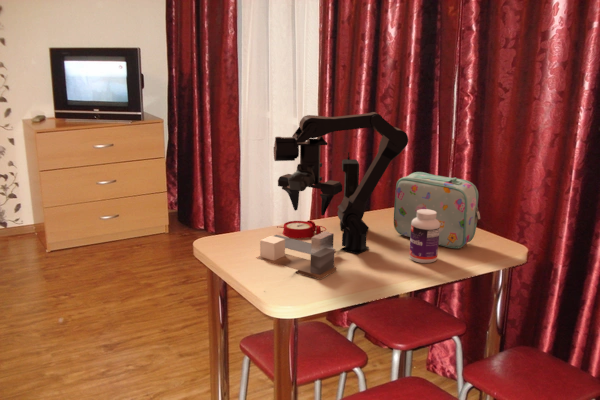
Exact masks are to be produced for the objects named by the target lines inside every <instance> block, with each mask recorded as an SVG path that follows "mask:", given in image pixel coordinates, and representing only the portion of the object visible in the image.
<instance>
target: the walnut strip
mask: <svg viewBox="0 0 600 400" xmlns="http://www.w3.org/2000/svg"><path fill="white" fill-rule="evenodd" d="M334 252H335V250H332V249H328V248H324V249H322V250H319V251H317V252H315V253H313V254H310V259H307V258H304V257H300V256H295V255H292V254H289V253H285V256H283V257H281V258H279V259H277V260H270V259H266V258H263V257H260V255H259V256H257V257H255V259H257V260H261V261H265V262H268V263H271V264H276V265H280V266H283V267H286V268H290V269H292V270H293V269H294V270H295V271H294V273H296V274H300V275H302V276H306V277H311V278H313V279H317V280H322V279H324V278H325V277H327V276H329V275H330V274H333V273H334V272H337V266H335V253H334Z"/></svg>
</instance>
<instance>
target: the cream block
mask: <svg viewBox="0 0 600 400" xmlns="http://www.w3.org/2000/svg"><path fill="white" fill-rule="evenodd" d="M259 242H260V243H259V252H260V253H259V256H260V257H263V258H266V259H270V260H277V259H279V258H281V257H283V256H285V254H286V248H285V239H283V238H279V237H275V236H274V235H269V236H267V237H265V238H262V239H259Z"/></svg>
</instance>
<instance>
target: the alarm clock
mask: <svg viewBox="0 0 600 400" xmlns="http://www.w3.org/2000/svg"><path fill="white" fill-rule="evenodd" d="M276 228H282V229H283V231H282V236H284V237H288V238H292V239H306V238H309V239H312V237H313V236H316V235H318V234H320V233H322V232H325V231H326V232H327V228H326V227H325V226H323V225H316V223H315V221H313V220H307V221H305V220H304V221H303V220H292V221H291V220H290V221H288V222H287V221H286V222H285V223H284V224H283V226H276ZM321 228H324V230H322V229H321Z"/></svg>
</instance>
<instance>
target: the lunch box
mask: <svg viewBox="0 0 600 400" xmlns="http://www.w3.org/2000/svg"><path fill="white" fill-rule="evenodd" d="M478 204H479V191H478V189H477V186H476V184H474V183H473V182H471V181H469V180H467V179H463V178H457V177H450V176H449V177H447V176H443V175H436V174H431V173H427V172H423V171H416V172H412V173H410V174H409V175H406V176H404V177H401V178H399V179H398V180H397V181H396V185H395V195H394V205H393V206H394V207H393V208H394V209H393V227H394V229H395V231H396V232H397V233H398V234H399V235H401V236H405V237H409V238H410V236H411V223H412V220H413V219H414V218H416V217H417V210H420V209H429V210H434V211H436V213H437V214H436V218H435V219H437V220H438V221H439V223H440V231H439V243H438V246H441V247H445V248H451V249H461V248H462V247H464V246H465V245H466V244H467V243H470V242H471V241H472V240H473V238H474V237H475V234H476V230H477V223H478V220H481V215H480V211H479V207H478Z"/></svg>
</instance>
